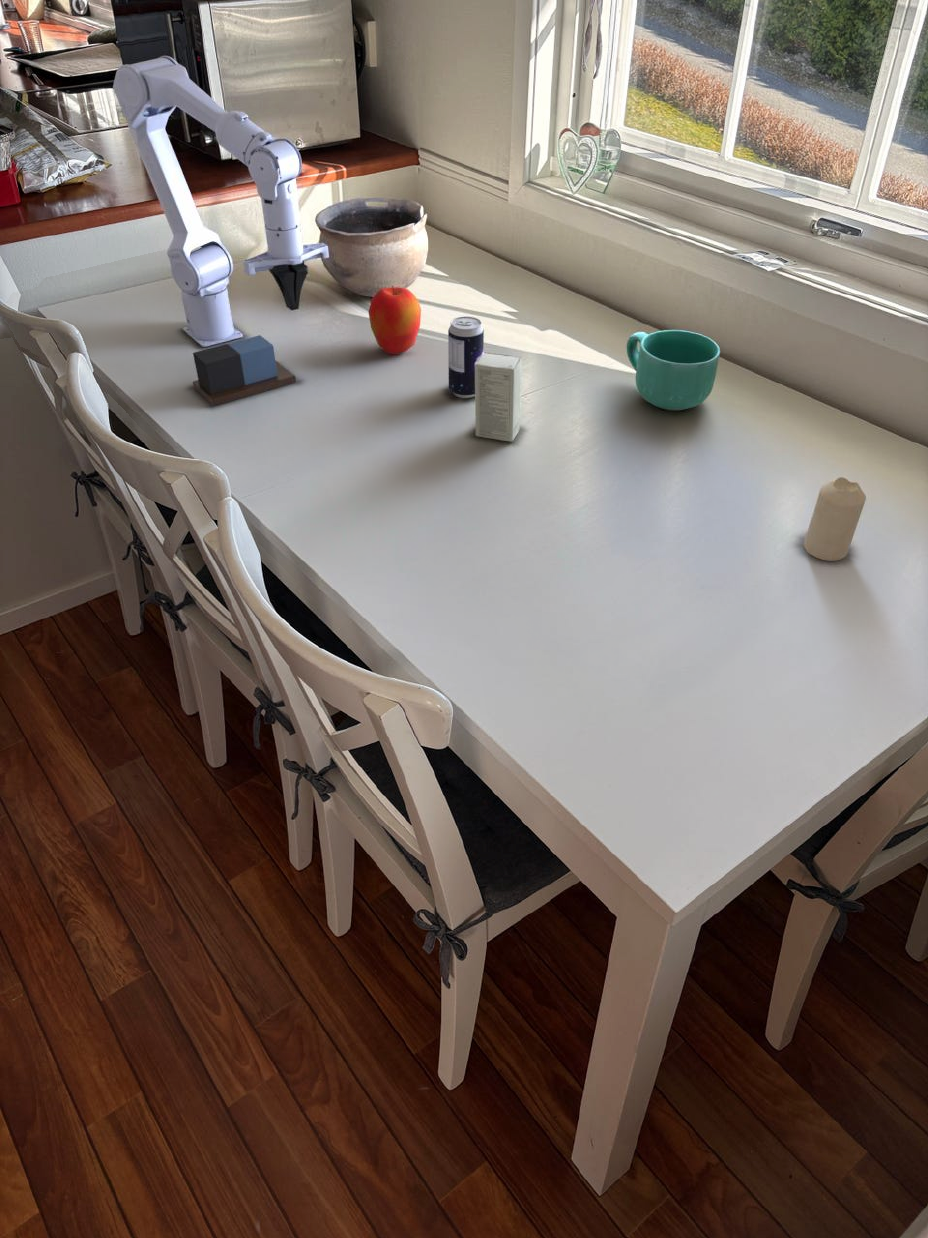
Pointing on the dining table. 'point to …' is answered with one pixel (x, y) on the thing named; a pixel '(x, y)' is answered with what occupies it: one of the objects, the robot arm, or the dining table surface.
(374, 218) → the ceramic bowl
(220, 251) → the robot arm
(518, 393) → the cosmetic box
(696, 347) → the mug
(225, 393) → the board
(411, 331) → the apple
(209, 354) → the dark grey cube
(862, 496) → the candle
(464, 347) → the beverage can
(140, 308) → the dining table surface
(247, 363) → the slate block
